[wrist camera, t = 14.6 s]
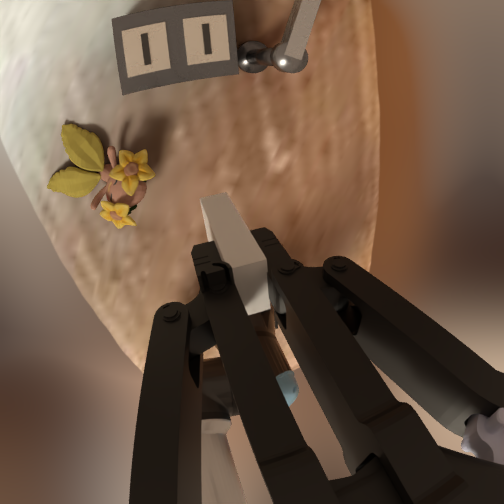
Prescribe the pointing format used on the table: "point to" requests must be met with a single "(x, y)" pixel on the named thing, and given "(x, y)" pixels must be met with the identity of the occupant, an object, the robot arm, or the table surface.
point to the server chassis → (175, 45)
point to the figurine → (102, 175)
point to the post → (253, 57)
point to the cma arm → (295, 38)
